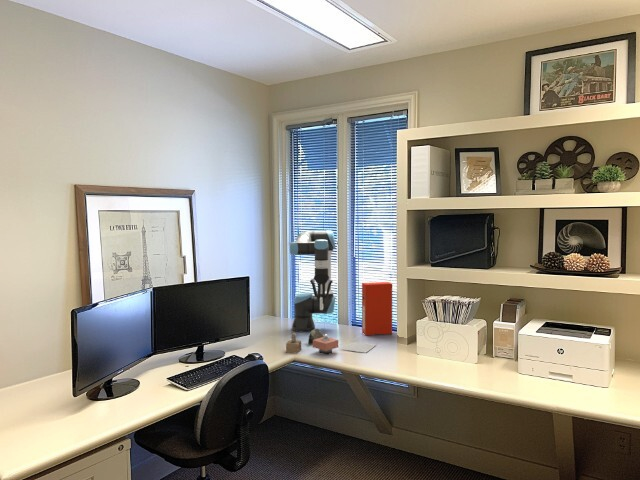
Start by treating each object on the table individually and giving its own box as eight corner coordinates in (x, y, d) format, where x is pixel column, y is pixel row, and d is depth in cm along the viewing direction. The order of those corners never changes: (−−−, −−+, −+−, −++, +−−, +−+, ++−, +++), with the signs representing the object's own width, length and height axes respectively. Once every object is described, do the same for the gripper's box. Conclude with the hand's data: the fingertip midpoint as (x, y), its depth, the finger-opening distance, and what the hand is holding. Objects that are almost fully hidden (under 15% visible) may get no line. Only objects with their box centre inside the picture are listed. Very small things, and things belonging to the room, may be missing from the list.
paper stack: (392, 348, 272) (392, 346, 272) (376, 360, 250) (376, 359, 250) (354, 343, 282) (354, 341, 282) (336, 354, 260) (336, 353, 260)
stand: (289, 348, 270) (289, 331, 270) (301, 349, 269) (301, 332, 268) (286, 352, 263) (286, 334, 263) (298, 353, 262) (298, 335, 262)
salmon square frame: (325, 343, 270) (325, 336, 270) (338, 347, 263) (338, 339, 262) (312, 347, 263) (312, 339, 263) (325, 351, 256) (325, 343, 255)
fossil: (324, 345, 275) (316, 330, 275) (311, 352, 276) (302, 336, 276) (327, 339, 286) (319, 324, 285) (314, 346, 287) (306, 331, 287)
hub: (320, 350, 267) (320, 332, 266) (332, 350, 266) (332, 333, 265) (318, 354, 260) (318, 336, 259) (330, 354, 259) (330, 336, 258)
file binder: (361, 332, 305) (362, 282, 303) (387, 331, 308) (388, 281, 306) (365, 335, 297) (365, 284, 295) (392, 334, 300) (392, 283, 298)
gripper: (308, 268, 263) (308, 310, 265) (332, 268, 260) (332, 311, 262) (311, 266, 270) (311, 307, 272) (334, 266, 268) (334, 308, 270)
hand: (321, 309), depth 267 cm, fingers closed
